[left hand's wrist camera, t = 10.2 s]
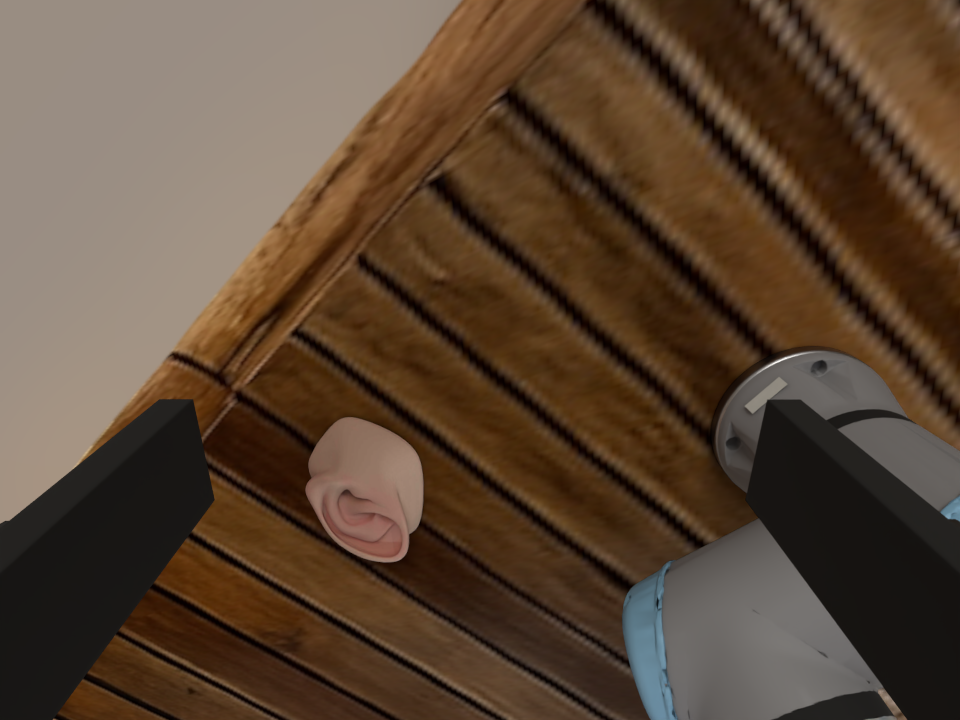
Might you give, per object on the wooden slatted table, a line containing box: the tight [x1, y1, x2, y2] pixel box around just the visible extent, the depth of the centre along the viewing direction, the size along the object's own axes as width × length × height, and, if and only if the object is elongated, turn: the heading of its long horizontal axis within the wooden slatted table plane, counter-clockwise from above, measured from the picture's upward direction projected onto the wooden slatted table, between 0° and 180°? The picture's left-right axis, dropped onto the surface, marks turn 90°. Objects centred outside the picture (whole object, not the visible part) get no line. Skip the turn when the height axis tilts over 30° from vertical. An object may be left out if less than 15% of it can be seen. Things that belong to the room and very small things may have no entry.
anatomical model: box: [306, 417, 423, 562], centre depth 51 cm, size 13×4×12 cm
